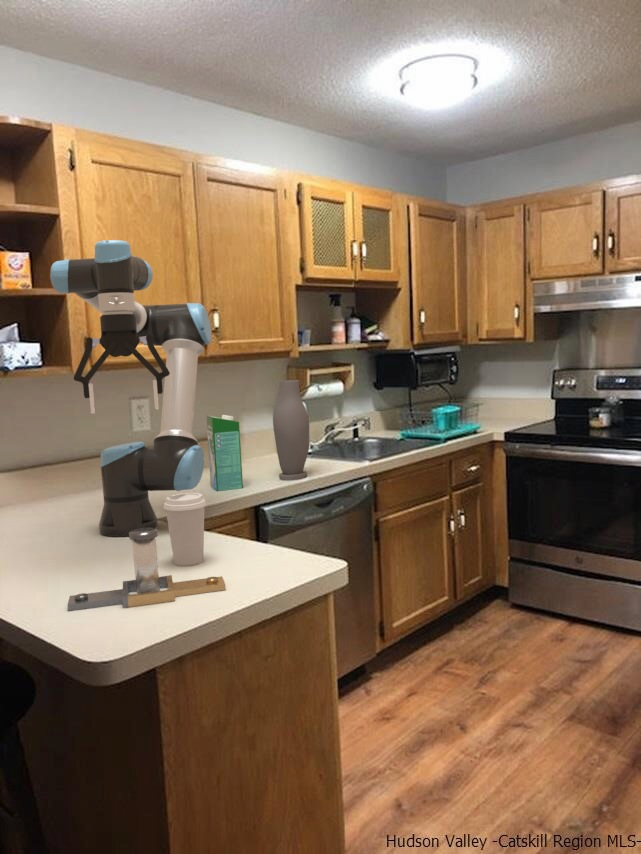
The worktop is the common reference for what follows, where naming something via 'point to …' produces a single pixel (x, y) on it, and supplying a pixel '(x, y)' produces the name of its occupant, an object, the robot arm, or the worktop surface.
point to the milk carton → (224, 453)
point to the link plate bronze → (177, 590)
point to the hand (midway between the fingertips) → (125, 411)
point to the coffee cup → (186, 527)
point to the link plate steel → (107, 596)
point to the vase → (291, 431)
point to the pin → (145, 559)
